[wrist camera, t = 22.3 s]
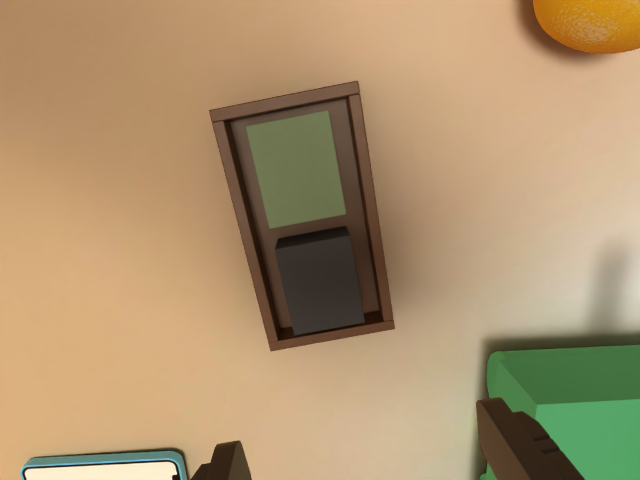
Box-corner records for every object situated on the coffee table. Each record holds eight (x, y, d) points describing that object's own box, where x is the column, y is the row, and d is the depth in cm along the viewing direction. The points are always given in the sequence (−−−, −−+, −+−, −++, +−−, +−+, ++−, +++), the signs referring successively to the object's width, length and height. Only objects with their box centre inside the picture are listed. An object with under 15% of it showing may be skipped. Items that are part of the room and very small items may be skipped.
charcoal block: (277, 238, 29) (273, 249, 26) (346, 225, 29) (350, 235, 26) (295, 317, 31) (294, 335, 28) (360, 305, 31) (365, 322, 28)
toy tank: (939, 308, 19) (750, 723, 28) (694, 242, 31) (619, 549, 40) (600, 326, 18) (523, 739, 28) (486, 252, 30) (459, 560, 40)
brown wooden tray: (218, 112, 27) (208, 110, 24) (353, 85, 27) (358, 80, 24) (273, 334, 32) (270, 351, 29) (388, 314, 31) (395, 329, 29)
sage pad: (252, 127, 27) (245, 126, 24) (326, 112, 26) (328, 109, 24) (273, 219, 28) (269, 229, 26) (342, 206, 28) (346, 214, 25)
